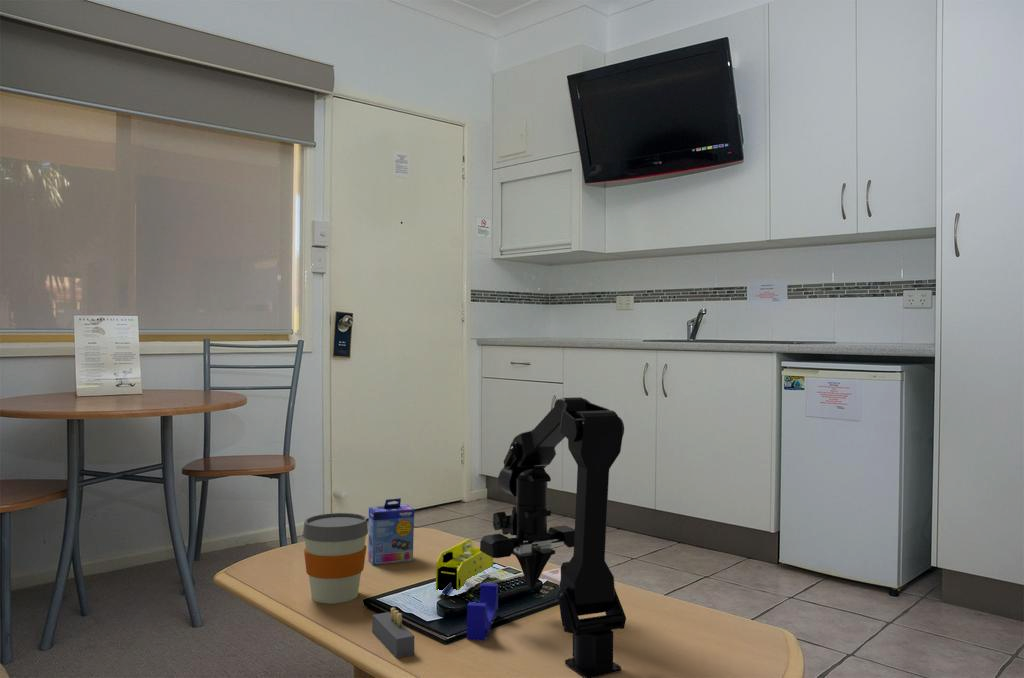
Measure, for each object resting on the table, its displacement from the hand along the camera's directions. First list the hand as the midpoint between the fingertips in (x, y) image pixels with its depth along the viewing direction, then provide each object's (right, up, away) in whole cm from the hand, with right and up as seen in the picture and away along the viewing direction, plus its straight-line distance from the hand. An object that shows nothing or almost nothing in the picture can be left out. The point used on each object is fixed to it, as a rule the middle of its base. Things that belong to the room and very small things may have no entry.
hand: (531, 587), depth 137 cm
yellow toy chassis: (-13, -6, +16) cm, 21 cm away
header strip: (-23, -5, -13) cm, 27 cm away
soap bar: (+7, -6, +18) cm, 20 cm away
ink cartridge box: (-32, -5, +34) cm, 47 cm away
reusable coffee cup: (-39, -5, +10) cm, 40 cm away
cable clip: (-9, -5, -6) cm, 12 cm away
